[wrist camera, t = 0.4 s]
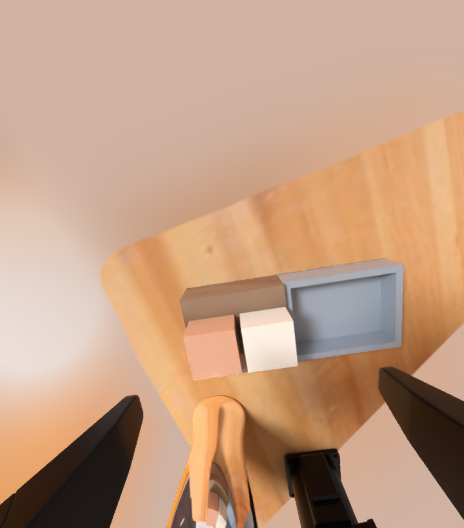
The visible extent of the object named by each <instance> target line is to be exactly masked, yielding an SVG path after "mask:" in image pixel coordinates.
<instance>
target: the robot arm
mask: <svg viewBox="0 0 464 528" xmlns="http://www.w3.org/2000/svg"><path fill="white" fill-rule="evenodd" d="M379 390H380V393H381V395H382V397H383V398H384V400H385V402H386V403H387V405H388V406H389V409H390V410H391V412H392V414H393V415H394V417H395V419H396V421H397V422H398V424H399V426H400V427H401V429H402V431H403V433H404V434H405V436H406V437H407V439H408V441H409V442H410V444H411V445H412V447H413V448H414V450H415V451H416V452H417V454H418V455H419V457H420V458H421V459H422V461H423V462H424V464H425V465H426V467H427V468H428V469H429V471H430V472H431V474H432V475H433V476H434V478H435V479H436V481H437V482H438V484H439V485H440V487H441V488H442V489H443V491H444V492H445V494H446V495H447V497H448V498H449V499H450V501H451V502H452V504H453V505H454V507H455V508H456V509H457V511H458V512H459V514H460V515H461V517H462V518H463V519H464V401H462V400H460V399H458V398H456V397H454V396H452V395H450V394H448V393H446V392H444V391H442V390H440V389H437V388H435V387H433V386H431V385H429V384H427V383H425V382H423V381H421V380H419V379H417V378H414V377H413V376H411V375H409V374H406V373H404V372H402V371H400V370H398V369H396V368H394V367H382V368H380V369H379ZM142 421H143V410H142V407H141V402H140V399H139V396H138V395H131V396H126V397H125V398H124V399H122V400H121V401H120V402H119V403H118V404H117V405H116V406H114V407H113V408H112V409H111V410H110V411H109V412H107V413H106V414H105V415H104V416H103V417H102V418H100V419H99V420H98V421H97V422H96V423H95V424H93V426H91V427H90V428H89V429H88V430H87V431H85V432H84V433H83V434H82V435H81V436H80V437H78V438H77V439H76V440H75V441H74V442H73V443H71V444H70V445H69V446H68V447H67V448H66V449H64V451H62V452H61V453H60V454H59V455H58V456H56V457H55V458H54V459H53V460H52V461H51V462H49V463H48V464H47V465H46V466H45V467H44V468H43V469H41V470H40V471H39V472H38V473H37V474H36V475H34V476H33V477H32V478H31V479H30V480H29V481H27V482H26V483H25V484H24V485H23V486H22V487H21V488H19V489H18V490H17V491H16V493H14V494H12V495H11V496H10V497H9V498H8V499H6V500H5V501H4V502H3V503H2V504H1V505H0V528H110V525H111V522H112V519H113V516H114V513H115V510H116V508H117V505H118V502H119V499H120V496H121V493H122V490H123V487H124V485H125V482H126V479H127V476H128V473H129V470H130V467H131V463H132V460H133V456H134V451H135V448H136V444H137V440H138V436H139V433H140V429H141V425H142ZM284 460H285V468H286V475H287V482H288V490H289V495H290V497H292V498H295V501H296V506H297V510H298V515H299V519H300V524H301V528H377V527H376V525H375V523H374V521H373V519H369V520H367V522H363V523H359V524H358V522H357V519H356V517H355V515H354V512H353V509H352V507H351V504H350V502H349V499H348V497H347V494H346V492H345V490H344V487H343V485H342V482H341V472H340V456H339V453H338V451H337V450H335V449H333V450H325V451H317V452H309V453H301V454H293V455H287V456H285V457H284Z"/></svg>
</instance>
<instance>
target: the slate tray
mask: <svg viewBox="0 0 464 528" xmlns="http://www.w3.org/2000/svg"><path fill="white" fill-rule="evenodd" d="M403 267H404V265H403V264H400V263H397V262H394V261H391V260H387V259H384V258H383V259H377V260H370V261H364V262H357V263H351V264H344V265H338V266H331V267H325V268H318V269H312V270H305V271H299V272H292V273H286V274H279V275H277V276H278V277H279V278H280V280H281V281H282V283H283V284H284V288H285V297H286V306H287V311H288V312H289V314H290V316H291V318H292V320H293V324H294V333H295V343H296V352H297V361H303V360H311V359H318V358H325V357H332V356H339V355H346V354H353V353H361V352H368V351H375V350H382V349H389V348H396V347H402V309H403Z"/></svg>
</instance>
